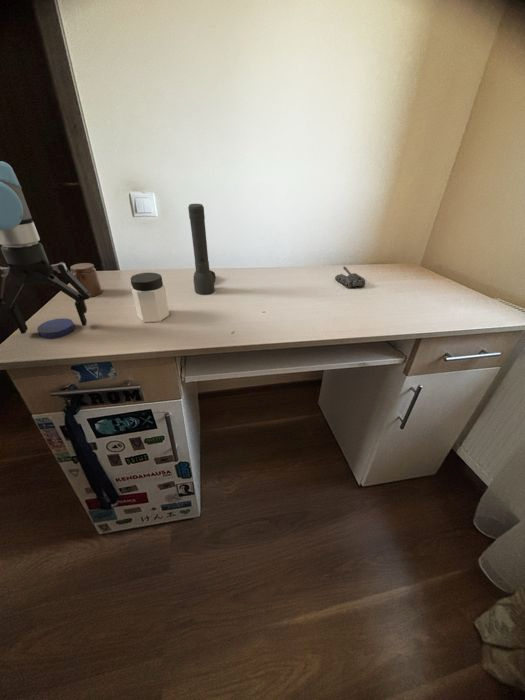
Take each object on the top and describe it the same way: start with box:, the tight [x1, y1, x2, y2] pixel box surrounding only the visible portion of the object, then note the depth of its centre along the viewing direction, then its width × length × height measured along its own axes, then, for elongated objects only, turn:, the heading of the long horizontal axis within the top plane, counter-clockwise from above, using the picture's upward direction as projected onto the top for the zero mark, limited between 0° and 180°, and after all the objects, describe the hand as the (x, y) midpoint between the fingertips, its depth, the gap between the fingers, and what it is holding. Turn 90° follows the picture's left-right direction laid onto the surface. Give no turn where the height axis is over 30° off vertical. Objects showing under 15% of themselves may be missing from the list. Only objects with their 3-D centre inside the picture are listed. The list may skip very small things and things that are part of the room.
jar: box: [130, 272, 170, 323], centre depth 81 cm, size 9×8×12 cm
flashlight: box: [187, 203, 215, 296], centre depth 93 cm, size 7×28×7 cm
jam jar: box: [70, 262, 103, 298], centre depth 94 cm, size 7×7×9 cm
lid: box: [36, 317, 76, 339], centre depth 75 cm, size 8×8×2 cm
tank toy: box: [334, 266, 366, 289], centre depth 113 cm, size 12×10×5 cm
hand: (55, 327), depth 74 cm, fingers open, 13 cm apart
